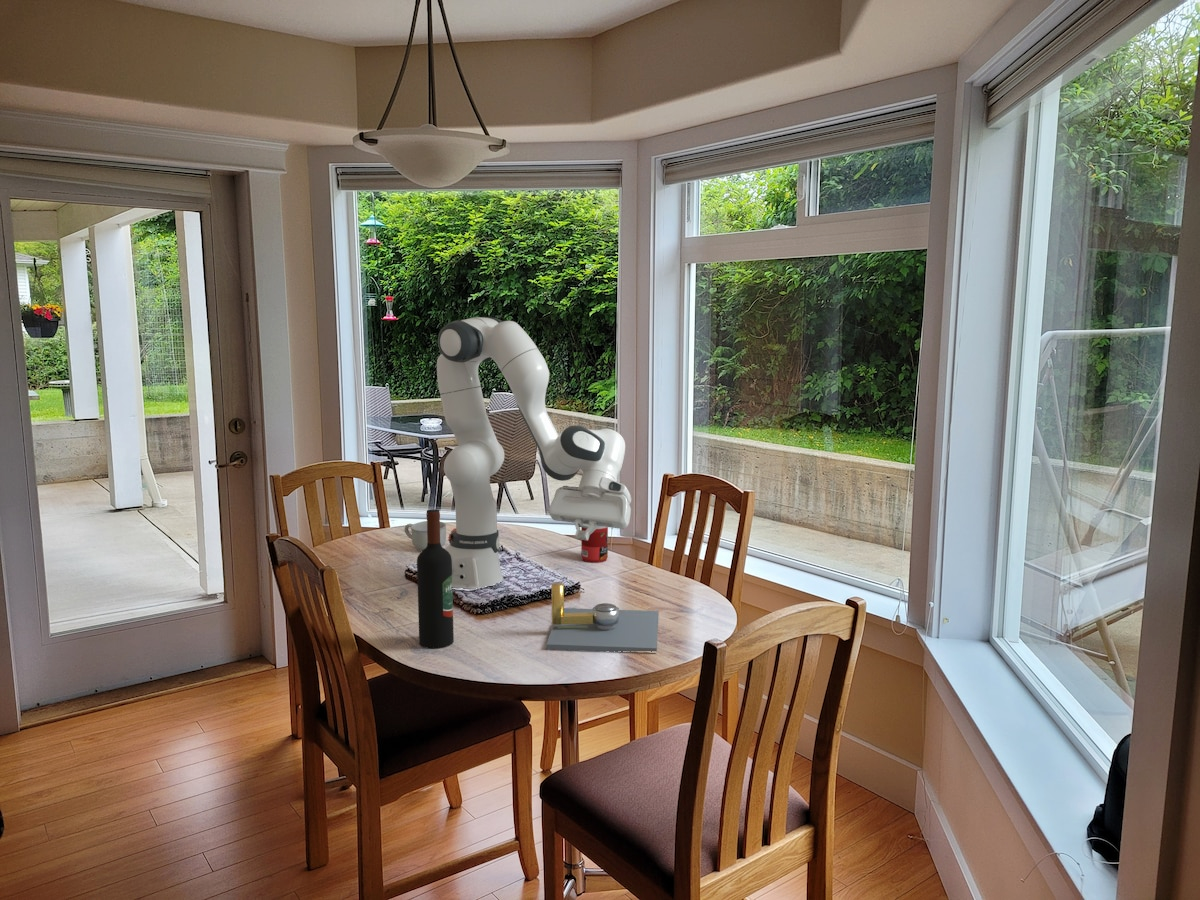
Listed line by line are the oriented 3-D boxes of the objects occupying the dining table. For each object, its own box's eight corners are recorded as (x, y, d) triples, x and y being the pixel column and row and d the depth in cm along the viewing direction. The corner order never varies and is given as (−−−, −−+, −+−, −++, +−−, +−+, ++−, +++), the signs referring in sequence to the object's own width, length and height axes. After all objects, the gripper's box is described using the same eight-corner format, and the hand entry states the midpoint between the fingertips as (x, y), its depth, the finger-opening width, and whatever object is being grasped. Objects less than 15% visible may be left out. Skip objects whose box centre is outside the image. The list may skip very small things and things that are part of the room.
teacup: (453, 548, 269) (453, 523, 268) (429, 556, 260) (428, 530, 259) (421, 542, 277) (420, 518, 275) (396, 549, 268) (395, 524, 266)
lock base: (546, 649, 186) (546, 639, 186) (560, 612, 210) (560, 604, 210) (656, 653, 184) (656, 643, 184) (658, 615, 208) (658, 607, 208)
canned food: (605, 563, 252) (605, 527, 251) (578, 562, 254) (578, 526, 252) (609, 556, 260) (610, 521, 258) (584, 555, 261) (584, 520, 260)
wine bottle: (421, 636, 194) (417, 507, 189) (455, 635, 194) (452, 506, 190) (417, 649, 186) (413, 514, 182) (452, 648, 187) (449, 514, 182)
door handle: (617, 616, 200) (617, 579, 199) (619, 625, 194) (620, 587, 193) (551, 618, 199) (551, 580, 197) (552, 627, 193) (551, 588, 191)
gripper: (554, 478, 213) (537, 527, 206) (632, 486, 205) (617, 537, 199) (561, 491, 218) (545, 539, 211) (637, 500, 211) (623, 550, 204)
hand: (581, 538), depth 205 cm, fingers closed
